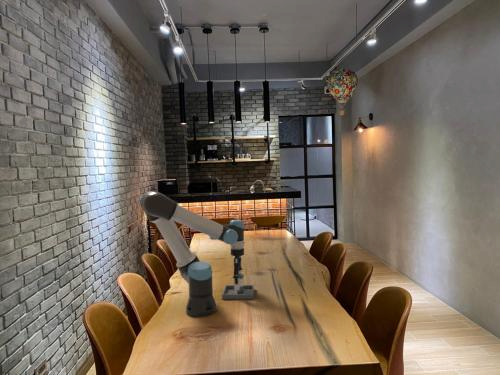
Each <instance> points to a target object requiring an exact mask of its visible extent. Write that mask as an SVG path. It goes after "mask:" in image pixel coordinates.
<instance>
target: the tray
mask: <svg viewBox="0 0 500 375" xmlns="http://www.w3.org/2000/svg"><path fill="white" fill-rule="evenodd" d="M254 293H255V285H254V284H244V294H235V290H234V284H233V285H230V284H229V285H228V284H226V285H225V286H224V288H223V290H222V294H221V300H254Z"/></svg>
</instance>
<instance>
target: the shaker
mask: <svg viewBox="0 0 500 375" xmlns="http://www.w3.org/2000/svg"><path fill="white" fill-rule="evenodd" d="M235 276H237V275H235ZM244 277H245V276H244V274H243V273H241V274H239V290H235V294H244V285H245V284H244V282H245V280H244V279H245V278H244Z"/></svg>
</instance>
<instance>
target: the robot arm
mask: <svg viewBox="0 0 500 375" xmlns="http://www.w3.org/2000/svg"><path fill="white" fill-rule="evenodd" d="M139 201H140V202H139V206H140V208H141V211H143V212H144V214H145V215H146V217H147V218H148V220H149V222H151V223H153V224H155V226H156V228H157V229H158V232H160V234H161V236H162V238H163V240H164V241H165V243H166V244H167V247H168V248H169V250H170V252H171V253H172V255H173V256H174V259H175V260H176V268H177V269H178V271H179V274H180V277H181V278H182V279H183V280H184V281H185V282H186V283H187V284H188V299H187V304H186V305H185V306H186V307H185V313H186V315H187V316H189V317H196V318H204V317H208V316H211V315H213V314H215V313H216V312H217V310H218V309H217V303H216V300H215V297H214V294H213V267H212V266H211V264H210V263H209V262H204V261H200V258H199V257H198V256H197V253H194V252H192V250H191V249H190V247H189V246H188V244H187V242H186V240H185V239H184V237H183V235H182V233H181V231H180V229H179V227H178V225H177V224H176V223H178V224H181V225H183V226H185V227H188V228H190V229H192V230H194V231H197V232H198V233H199V232H200V233H201V234H204V235H207V236H208V237H209V239H210V240H213V241H216V240H217V241H221V242H223V243H225V244H227V245H230V256H232V257H234V258H233V276H232V279H233V285H234V290H239V274H242V271H243V268H242V257H241V256H244V255H245V248H244V247H245V244H246V242H245V235H244V234H245V230H244V229H245V225H244V221H243V220H241V219H232V220H230V221H229V224H221V223H218V222H216V221H214V220H212V219H209V218H208V217H205V216H203V215H201V214H198V213H196V212H194V211H192V210H189V209H187V208H185V207H183V206H180V205H179V203H178V202H177V201H175V200H173V199H171V198H169V197H167V196H166V195H165V194H163V193H161V192H159V191H156V190H150V191H147V192H145V193H144V194H143V195H142V196H141V198H140V200H139ZM235 275H237V276H235Z"/></svg>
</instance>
